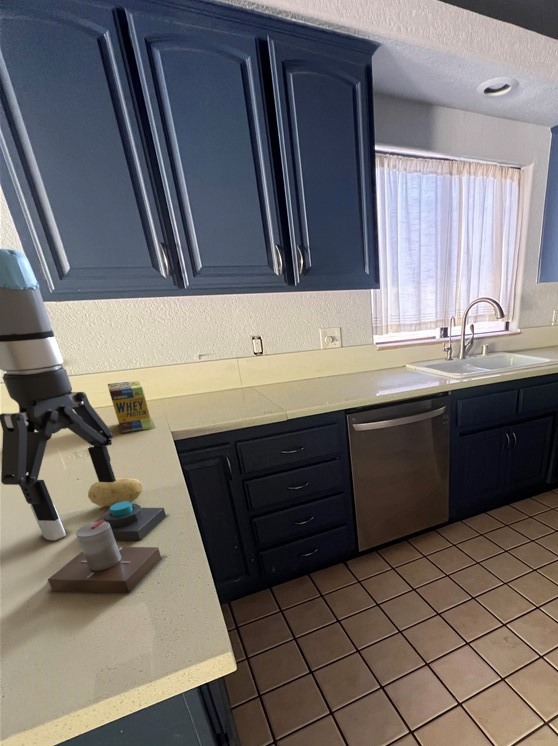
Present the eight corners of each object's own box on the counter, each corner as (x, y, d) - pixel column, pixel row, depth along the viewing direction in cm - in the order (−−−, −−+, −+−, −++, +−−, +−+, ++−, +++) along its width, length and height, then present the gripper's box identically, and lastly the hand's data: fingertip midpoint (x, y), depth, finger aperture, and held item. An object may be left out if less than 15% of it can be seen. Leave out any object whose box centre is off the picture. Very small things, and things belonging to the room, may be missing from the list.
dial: (109, 571, 74) (95, 535, 71) (82, 570, 74) (67, 534, 71) (127, 554, 78) (115, 520, 75) (102, 553, 79) (89, 519, 76)
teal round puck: (107, 517, 89) (105, 510, 88) (119, 508, 93) (117, 501, 92) (125, 517, 89) (123, 510, 88) (137, 508, 92) (135, 501, 92)
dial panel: (52, 591, 73) (46, 578, 72) (92, 557, 82) (88, 545, 81) (129, 592, 72) (125, 580, 71) (161, 558, 81) (158, 546, 80)
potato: (97, 501, 104) (88, 478, 101) (147, 493, 108) (140, 470, 105) (90, 514, 98) (81, 489, 96) (144, 504, 102) (136, 480, 99)
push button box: (85, 539, 88) (78, 523, 87) (116, 515, 97) (110, 500, 96) (140, 540, 87) (134, 523, 86) (166, 516, 96) (161, 500, 95)
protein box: (121, 433, 153) (108, 391, 147) (119, 423, 165) (107, 383, 159) (153, 428, 158) (142, 386, 152) (149, 418, 170) (138, 379, 164)
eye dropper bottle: (68, 526, 93) (48, 477, 88) (65, 538, 89) (44, 487, 84) (44, 532, 92) (22, 481, 87) (40, 544, 87) (16, 492, 82)
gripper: (72, 355, 74) (108, 468, 82) (-81, 389, 51) (-8, 539, 60) (113, 355, 73) (145, 469, 82) (-23, 388, 50) (42, 540, 59)
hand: (80, 499), depth 71 cm, fingers open, 13 cm apart
